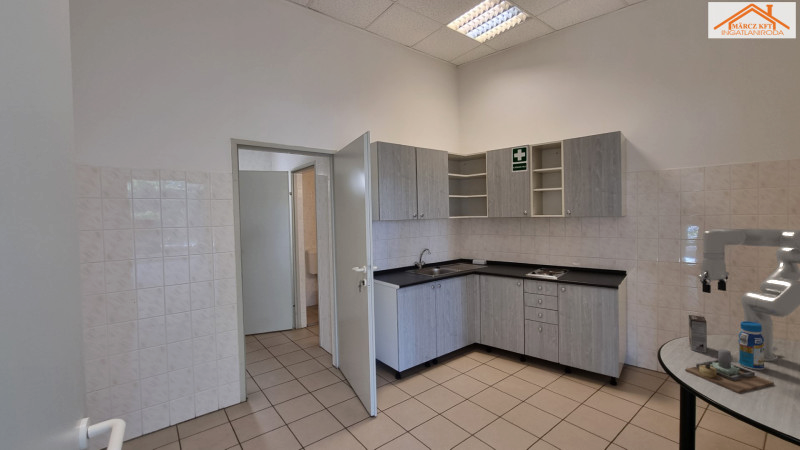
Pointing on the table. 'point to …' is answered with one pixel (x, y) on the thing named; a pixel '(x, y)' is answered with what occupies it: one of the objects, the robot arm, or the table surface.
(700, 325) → the coffee box
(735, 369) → the gear
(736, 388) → the carrier
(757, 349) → the beverage bottle
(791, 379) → the table surface
